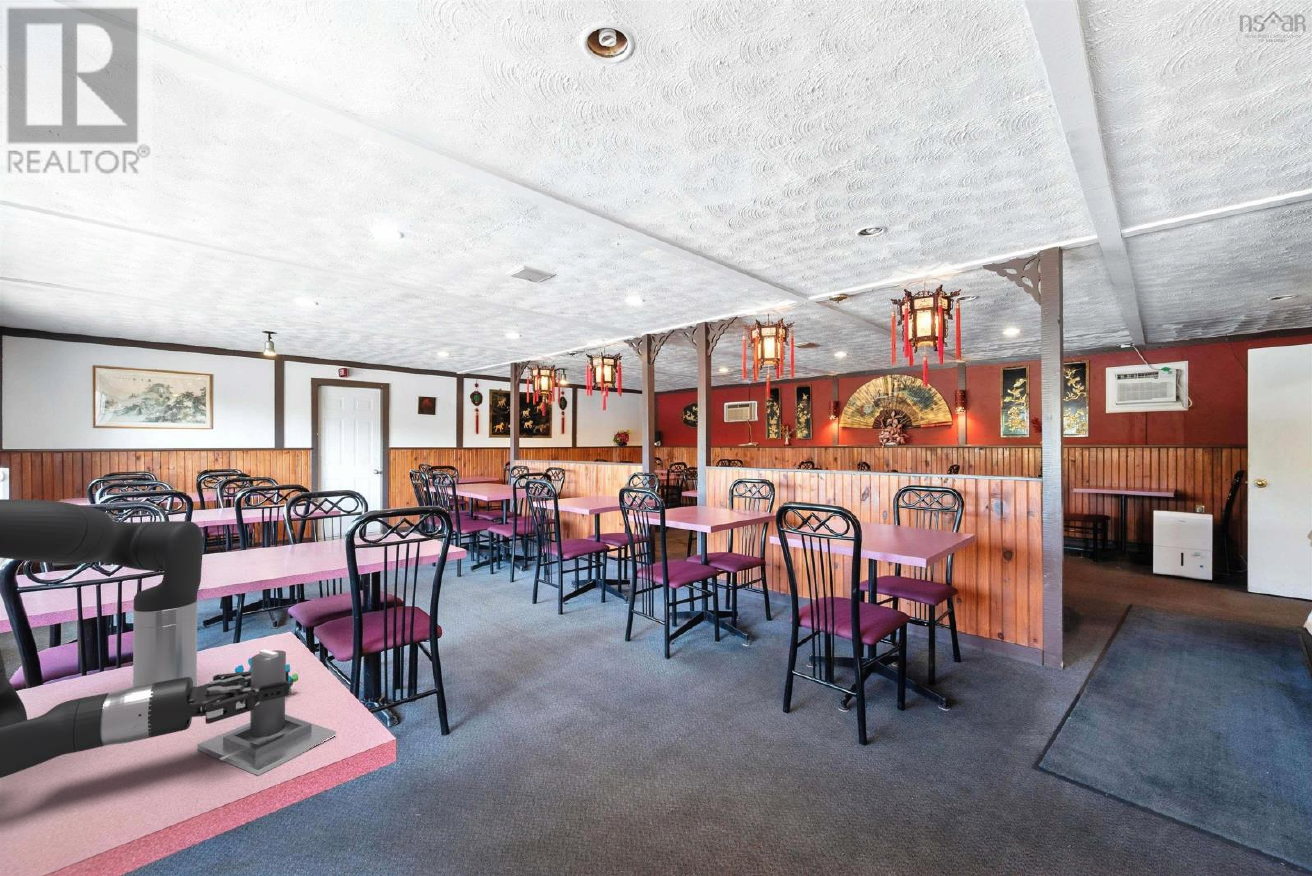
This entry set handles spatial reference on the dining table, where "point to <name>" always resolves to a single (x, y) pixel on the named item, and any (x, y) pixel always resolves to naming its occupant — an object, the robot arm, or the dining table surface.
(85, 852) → the dining table surface
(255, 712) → the grey peg
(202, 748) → the grey peg base plate
